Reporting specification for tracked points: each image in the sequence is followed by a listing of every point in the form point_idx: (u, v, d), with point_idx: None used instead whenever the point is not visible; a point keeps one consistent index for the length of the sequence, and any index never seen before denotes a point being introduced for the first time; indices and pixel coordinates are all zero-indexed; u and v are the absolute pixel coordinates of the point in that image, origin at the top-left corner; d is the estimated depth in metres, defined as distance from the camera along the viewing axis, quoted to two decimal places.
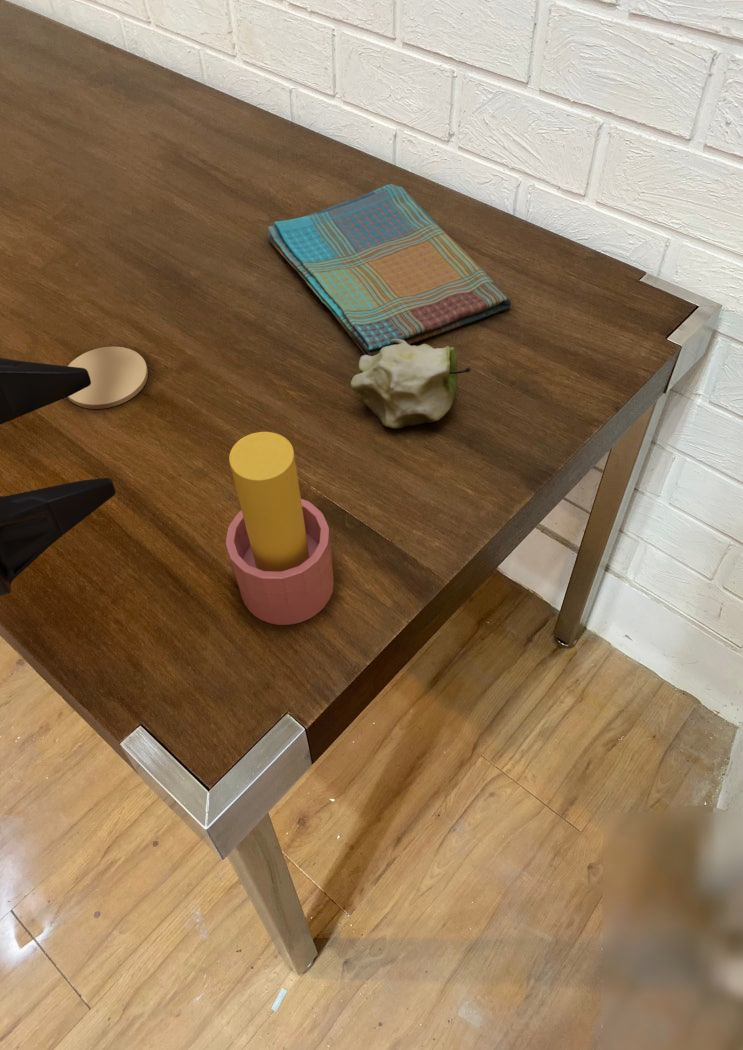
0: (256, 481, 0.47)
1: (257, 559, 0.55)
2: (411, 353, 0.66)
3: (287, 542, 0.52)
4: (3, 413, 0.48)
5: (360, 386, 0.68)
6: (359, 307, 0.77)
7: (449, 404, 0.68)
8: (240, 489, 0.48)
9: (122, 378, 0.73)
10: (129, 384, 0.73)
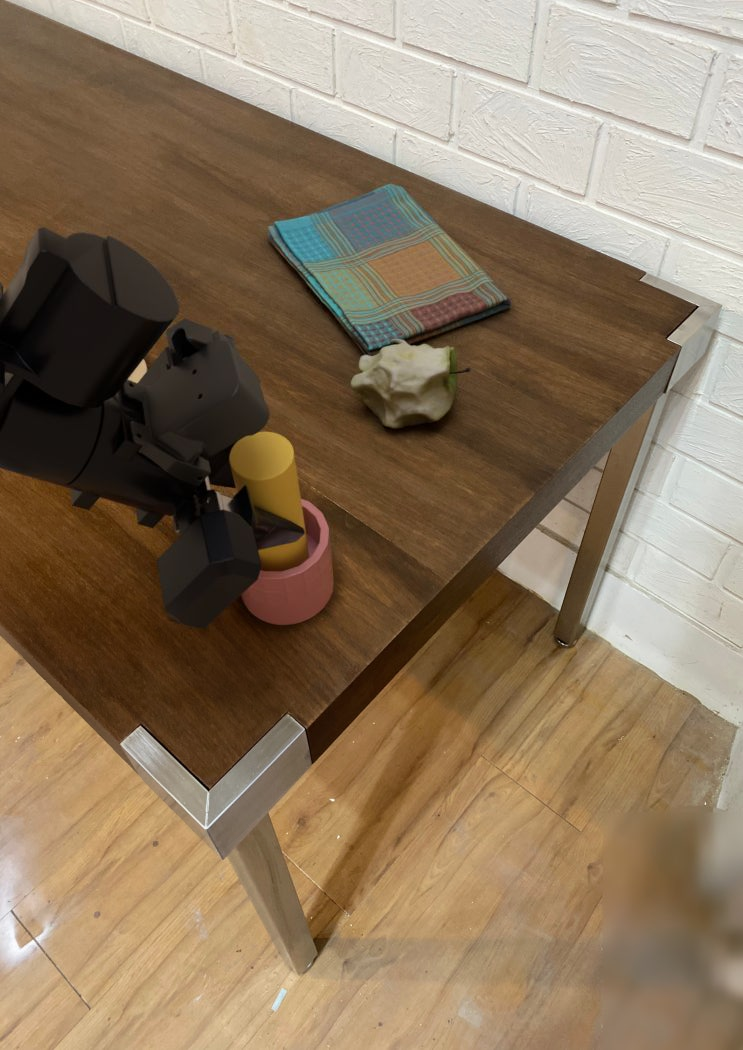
0: (256, 481, 0.47)
1: None
2: (411, 353, 0.66)
3: None
4: None
5: (360, 386, 0.68)
6: (359, 307, 0.77)
7: (449, 404, 0.68)
8: None
9: None
10: None
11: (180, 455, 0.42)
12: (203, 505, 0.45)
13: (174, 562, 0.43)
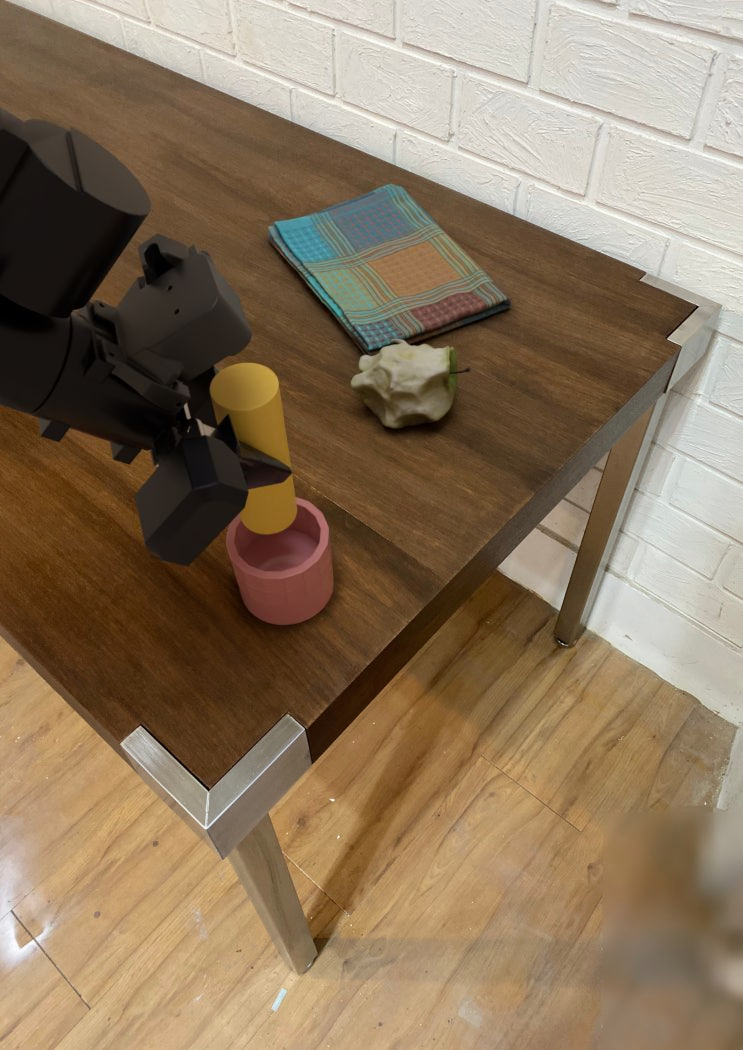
0: (239, 412, 0.44)
1: None
2: (411, 353, 0.66)
3: None
4: None
5: (360, 386, 0.68)
6: (359, 307, 0.77)
7: (449, 404, 0.68)
8: None
9: None
10: None
11: (157, 377, 0.39)
12: (183, 435, 0.42)
13: (154, 494, 0.40)
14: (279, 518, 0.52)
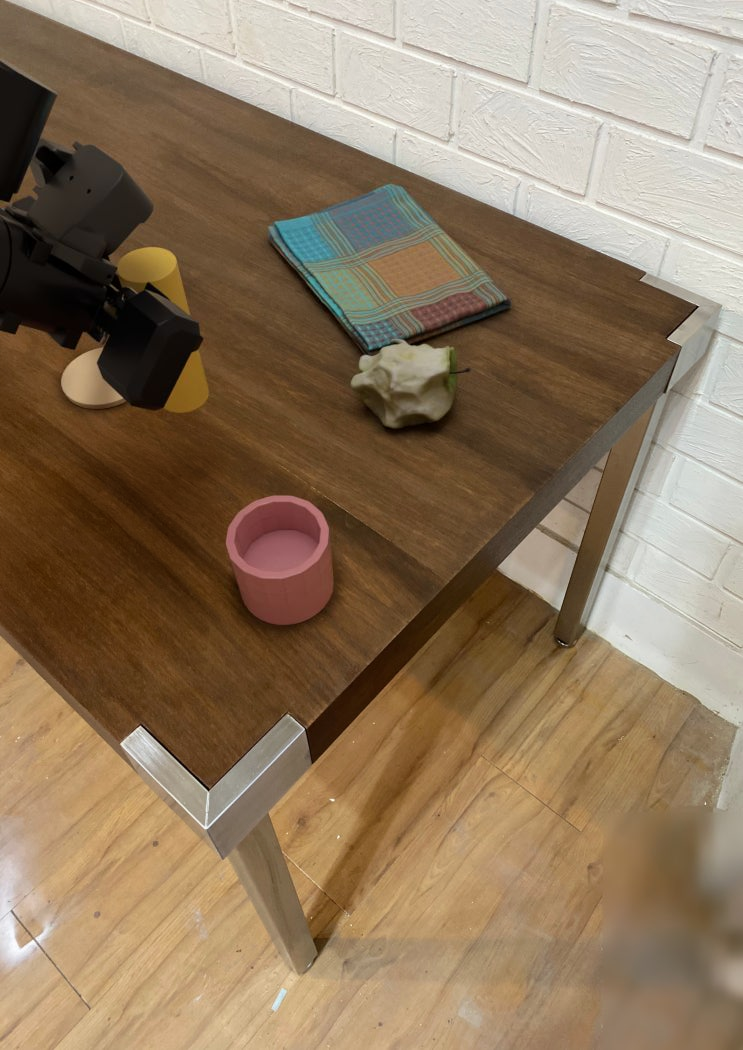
0: (153, 283, 0.51)
1: None
2: (411, 353, 0.66)
3: None
4: None
5: (360, 386, 0.68)
6: (359, 307, 0.77)
7: (449, 404, 0.68)
8: None
9: None
10: None
11: (88, 251, 0.46)
12: (119, 304, 0.48)
13: (117, 350, 0.46)
14: (198, 391, 0.60)
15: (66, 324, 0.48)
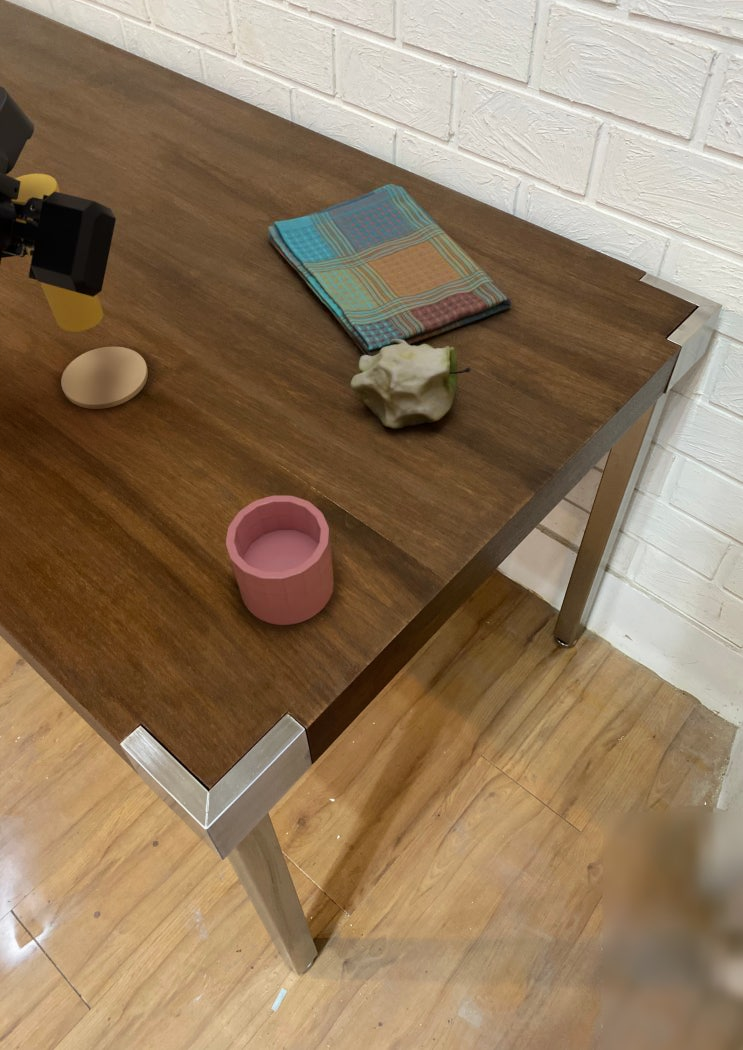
0: None
1: (67, 307, 0.65)
2: (411, 353, 0.66)
3: None
4: None
5: (360, 386, 0.68)
6: (359, 307, 0.77)
7: (449, 404, 0.68)
8: None
9: (122, 378, 0.73)
10: (129, 384, 0.73)
11: None
12: (30, 215, 0.55)
13: (49, 247, 0.53)
14: (96, 306, 0.66)
15: None
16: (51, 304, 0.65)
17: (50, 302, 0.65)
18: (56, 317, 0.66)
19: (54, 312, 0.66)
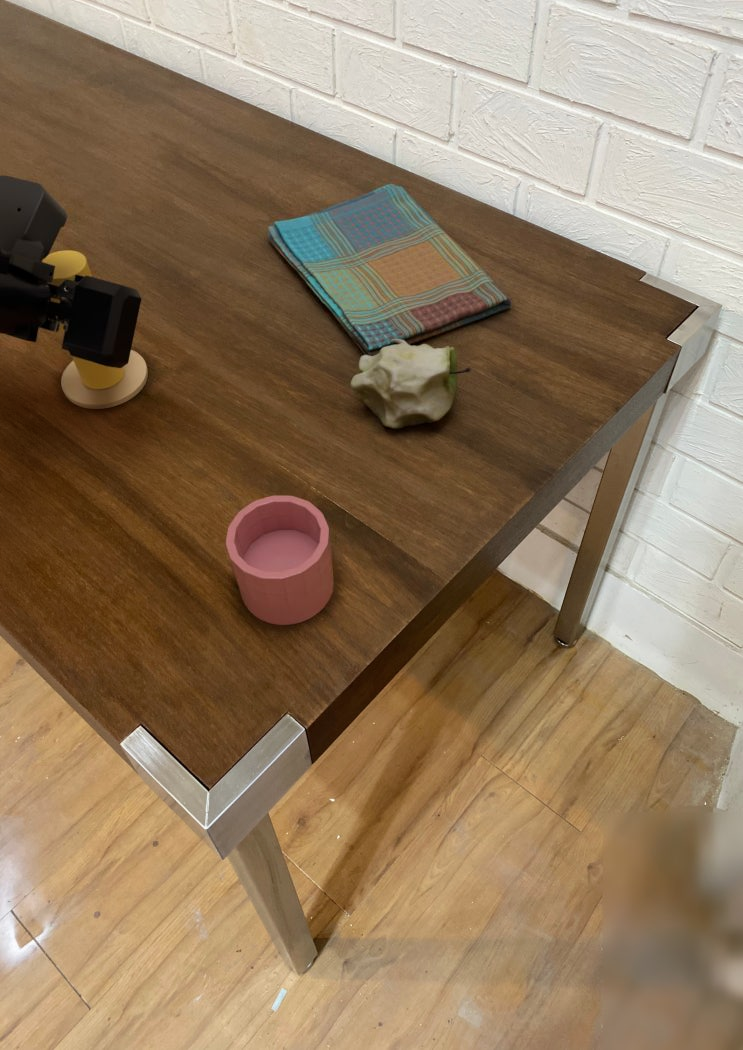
0: None
1: (92, 368, 0.70)
2: (411, 353, 0.66)
3: None
4: None
5: (360, 386, 0.68)
6: (359, 307, 0.77)
7: (449, 404, 0.68)
8: None
9: (122, 378, 0.73)
10: (129, 384, 0.73)
11: (33, 256, 0.57)
12: (64, 295, 0.60)
13: (82, 326, 0.58)
14: None
15: (28, 320, 0.59)
16: (77, 365, 0.70)
17: (76, 363, 0.70)
18: (81, 376, 0.72)
19: (80, 372, 0.71)
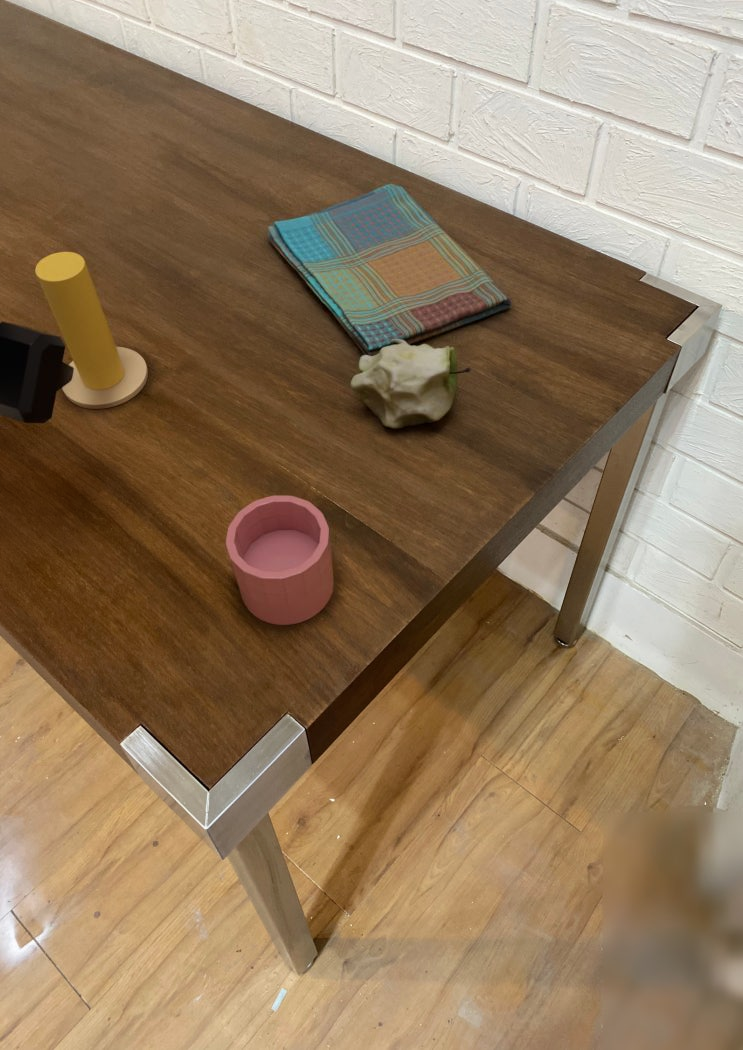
0: (74, 278, 0.63)
1: (92, 369, 0.70)
2: (411, 353, 0.66)
3: (107, 334, 0.69)
4: None
5: (360, 386, 0.68)
6: (359, 307, 0.77)
7: (449, 404, 0.68)
8: (63, 297, 0.64)
9: (122, 378, 0.73)
10: (129, 384, 0.73)
11: None
12: None
13: None
14: (118, 366, 0.72)
15: None
16: (77, 366, 0.70)
17: (76, 364, 0.70)
18: (81, 377, 0.72)
19: (80, 372, 0.71)
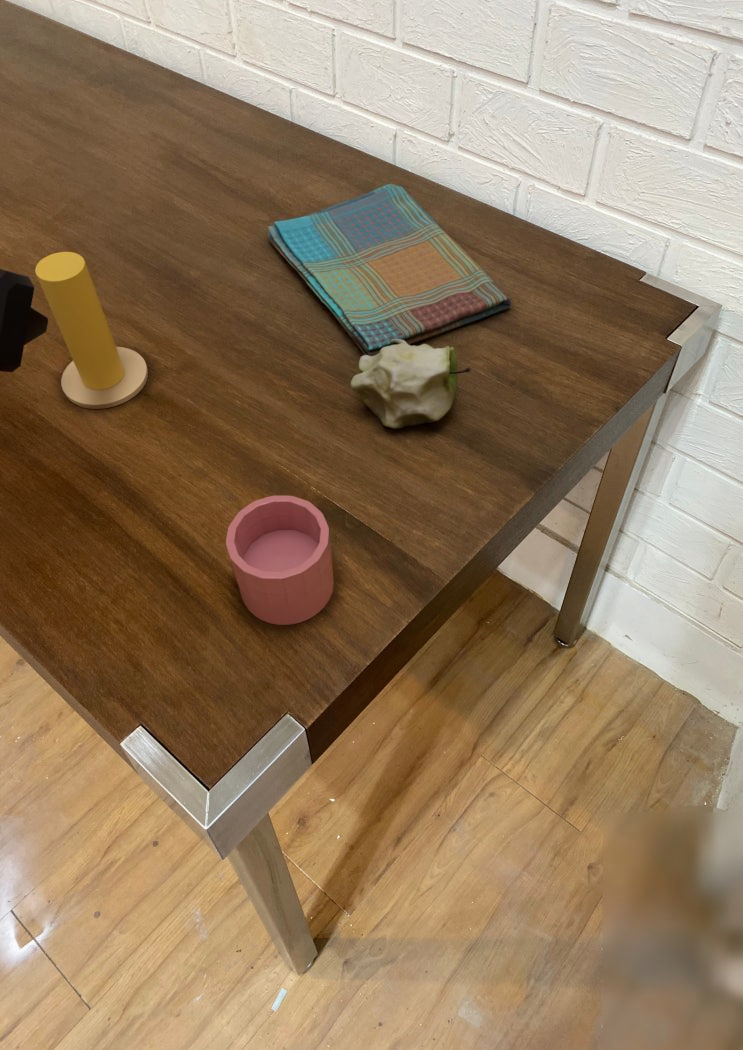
0: (74, 278, 0.63)
1: (92, 369, 0.70)
2: (411, 353, 0.66)
3: (107, 334, 0.69)
4: None
5: (360, 386, 0.68)
6: (359, 307, 0.77)
7: (449, 404, 0.68)
8: (63, 297, 0.64)
9: (122, 378, 0.73)
10: (129, 384, 0.73)
11: None
12: None
13: None
14: (118, 366, 0.72)
15: None
16: (77, 366, 0.70)
17: (76, 364, 0.70)
18: (81, 377, 0.72)
19: (80, 372, 0.71)
